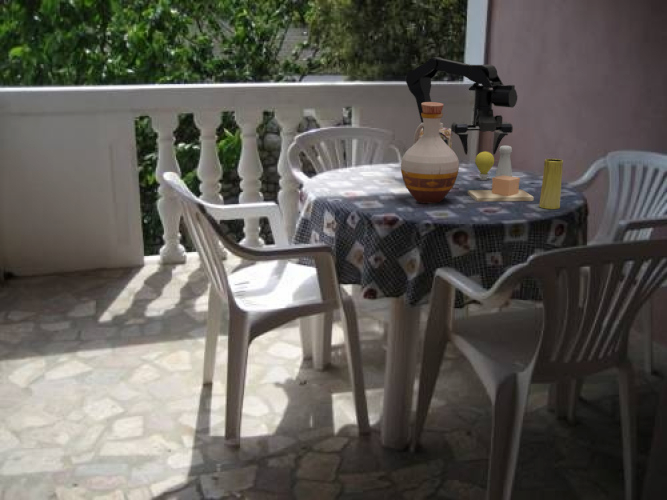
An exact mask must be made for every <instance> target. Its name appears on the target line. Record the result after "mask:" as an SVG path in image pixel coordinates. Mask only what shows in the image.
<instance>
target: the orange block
mask: <svg viewBox="0 0 667 500" xmlns="http://www.w3.org/2000/svg"><path fill="white" fill-rule="evenodd" d="M491 181H492V185H491V190H492V193H493V194H499V195H504V196H511V195H514V194H518V191H519V190H520V189H519V188H520V181H521V178H520V177H517V176H512V177H511V176H505V175H502V176H498V177H495V176H494V177H492V178H491Z"/></svg>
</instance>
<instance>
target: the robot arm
mask: <svg viewBox="0 0 667 500" xmlns="http://www.w3.org/2000/svg"><path fill="white" fill-rule="evenodd" d="M439 72H442V73H443V72H444V73H447V74H448V73H449V74H451V75H452V74H453V75H456V76H460V77H461V76H462V77H464V78H467V79H468V80H469V81H471V82H474V83H473V84H472V85H471V86H470V87H468V90H469V91H473V92H474V100H473V101H474V102H473V108H472V112H473V117H472V121H471V124H468V123H465V122H463V121H462V122H459V121H457V122H452V123H451V126H450V129H451V131H452V133H454V134H455V135H457V136H458V137H459V140H460V143H461V145H462V147H463V148H462V149H463V151H464V155H467V156H468V150H469V148H468V137H469V134H468V133H467V132H468V131H480V132H483V133H485V132H491V133H492V132H493V140H492V141H493V143H492V155H496V153H497V151H498V148H499V146H500V144H501V143H502V140H503V139H504V138H505V136H508V135H509V133H510V134H511V133H513V127H514V126H513V124H512V123H510V122H507V121H503V115H495V116H494V109H493V106H494V107H497V108H498V107H501V108H514V107H515V106H516V105H517V102H518V94H517V90H516V89H515V88H516V86H515V85H514V84H508V85H506V84H504V83H503V82H502V80H501V78H500V76H499V75H498V71H497V68H496V66H494V65H493V64H470V63H464V62H460V61H456V60H450V59H446V58H442V57H441V56H438V57H436V56H435V57H430V58H429V59H428V60H427V61H426V62H424V63H422V64H421V65H419V66H417V67H416V68H415V69H413V70H410V71H408V73H407V75H406V76H405V83H406V85H407V87H408V90H409V91H410V93H411V94H412V96H413V97H414V98H415V102H416V106H417V110H418V114H419V118H420V122H421V123H423V118H422V116H421V113H423V110H422V105H421V103H423V102H432V98H431V94H430V93H431V89H432V79H434V77H436V76H437V74H438V73H439ZM421 123H420V124H421ZM423 131H424V127H423ZM439 136H440V135H439ZM442 140H443V139H442ZM443 141H444V142H445V143H446V144H447V145H448V141H447V139H445V140H443Z"/></svg>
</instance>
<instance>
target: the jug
mask: <svg viewBox="0 0 667 500" xmlns="http://www.w3.org/2000/svg"><path fill="white" fill-rule="evenodd" d="M421 105H422V110H423V113H421V116H422V118H423V123H420V124H419V125H417V127H416V130H415V132H414V135H413V145H411V147H409V148H408V149H407V150H406V151H405V152H404V154H403V156H402V157H401V162H400V170H401V176H402V180H403V183H404V186H405V188H406V190H407V191H408V193H409V194H410V195H411V196H412V197H413V199H414V200H415V201H416V202H417V203H422V204H423V203H424V204H438V203H441V202H442V201H443V200H444V199H445V198H446V197H447V195H448V194H449V193H450V192H451V190H452V189H453V188H454V185H455V183H456V181H457V178H458V174H459V169H460V162H459V158H458V156H457V154H456V153H455V151H454V150H453V148H452V149H451V148H450V147H449V146H448V145H447V144H446V143H445V142H444V141H443V140H442V138H441V137H440V136H439V125H440V123H441V120H442V118H443V116H444V113H443V108H444V106H445V104H444V103H442V102H434V101H431V102H423V103H421ZM423 127H424V134H423V136H422V137H421V138H420V139H419V134H420V131H421V129H422V128H423Z"/></svg>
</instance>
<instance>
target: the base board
mask: <svg viewBox="0 0 667 500" xmlns="http://www.w3.org/2000/svg"><path fill="white" fill-rule="evenodd" d="M467 195H469V197H471V198H472V199H473V200H474V201H475V202H479V203H480V202H482V203H483V202H530V201H531V202H532V201H534V196H533V195H531V194H529V193H528V192H527V191H525V190H523V189H519V191H518V194H514V195H511V196H504V195H499V194H493V193H492V189H482V190H481V189H476V190H475V189H474V190H473V189H469V190H467Z"/></svg>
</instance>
